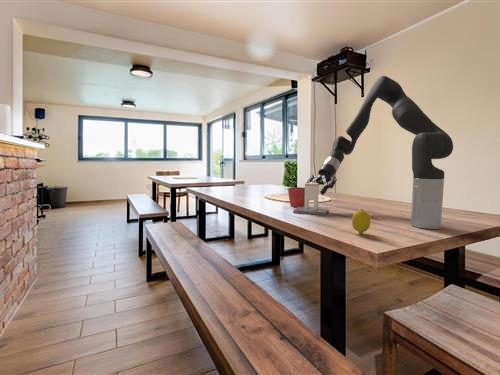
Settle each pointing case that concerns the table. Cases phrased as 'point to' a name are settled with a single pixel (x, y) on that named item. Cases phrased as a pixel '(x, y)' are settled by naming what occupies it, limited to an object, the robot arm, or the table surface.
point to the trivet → (311, 210)
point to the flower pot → (296, 196)
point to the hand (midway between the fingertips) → (314, 192)
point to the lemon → (361, 221)
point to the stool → (311, 194)
